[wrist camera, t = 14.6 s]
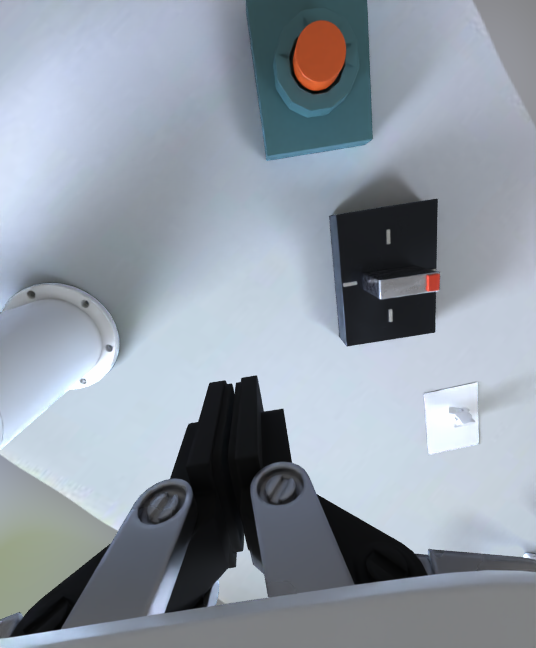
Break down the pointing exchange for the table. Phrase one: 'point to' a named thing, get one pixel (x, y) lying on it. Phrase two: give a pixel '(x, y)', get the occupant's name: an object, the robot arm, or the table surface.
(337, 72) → the button
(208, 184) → the table surface
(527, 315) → the table surface
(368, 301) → the dial panel
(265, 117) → the button housing
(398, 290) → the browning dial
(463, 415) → the adhesive hook
